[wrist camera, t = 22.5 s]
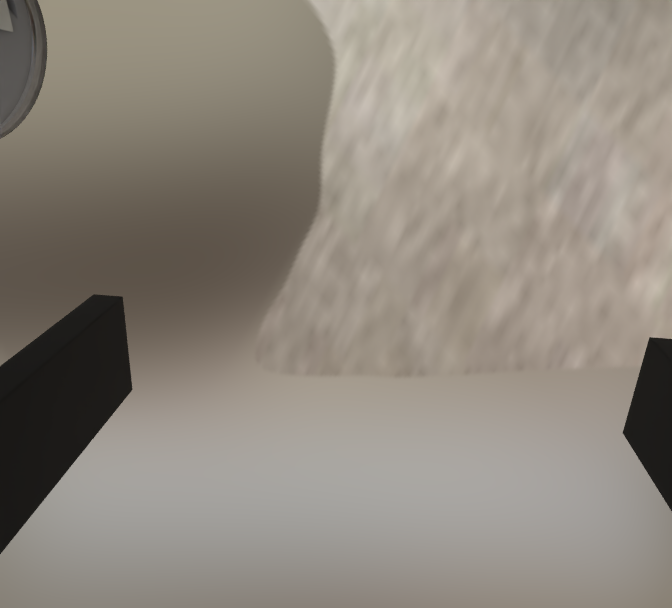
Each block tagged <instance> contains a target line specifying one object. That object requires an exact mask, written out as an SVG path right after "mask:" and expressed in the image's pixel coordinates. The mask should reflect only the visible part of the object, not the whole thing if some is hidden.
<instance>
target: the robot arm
mask: <svg viewBox="0 0 672 608" xmlns="http://www.w3.org/2000/svg"><path fill="white" fill-rule="evenodd" d="M46 40H47V38H46V30H45V25H44V21H43V16H42V13H41V9H40V7H39V4H38V1H37V0H0V139H1V138H2V137H4V136H6V135H7V134H9V133H10V132H12V131H13V130H14V129H15V128H16V127H17V126H18V125H19V124H20V123H21V122H22V121H23V120H24V119H25V118H26V116H27V115H28V113H29V112H30V110H31V109H32V107H33V105H34V104H35V101H36V99H37V97H38V95H39V92H40V89H41V87H42V83H43V79H44V75H45V69H46V60H47V41H46ZM131 390H132V382H131V373H130V363H129V354H128V345H127V334H126V325H125V315H124V306H123V297H119V296H105V295H93V296H91V297H90V298H89V299H87V300H86V301H85V302H84V303H82V304H81V305H80V306H78V307H77V308H76V309H74V310H73V311H72V312H70V313H69V314H68V315H66V316H65V317H64V318H63V319H62V320H60V321H59V322H57V323H56V324H55V325H53V326H52V327H51V328H49V329H48V330H47V331H46V332H44V333H43V334H42V335H40V336H39V337H38V338H37V339H35V340H34V341H33V342H31V343H30V344H29V345H27V346H26V347H25V348H23V349H22V350H21V351H20V352H18V353H17V354H16V355H14V356H13V357H12V358H10V359H9V360H8V361H6V362H5V363H4V364H3V365H1V366H0V554H1V552H2V551H3V550H4V549H5V548H6V546H7V545H8V544H9V542H10V541H11V540H12V539H13V537H14V536H15V535H16V534H17V533H18V531H19V530H20V529H21V528H22V526H23V525H24V524H25V523H26V521H27V520H28V519H29V518H30V516H31V515H32V514H33V513H34V511H35V510H36V509H37V508H38V506H39V505H40V504H41V503H42V501H43V500H44V499H45V498H46V496H47V495H48V494H49V493H50V491H51V490H52V489H53V488H54V487H55V485H56V484H57V483H58V482H59V480H60V479H61V478H62V477H63V475H64V474H65V473H66V471H67V470H68V469H69V467H71V465H72V464H73V463H74V462H75V460H76V459H77V458H78V457H79V455H80V454H81V453H82V451H83V450H84V449H85V448H86V447H87V445H88V444H89V443H90V442H91V440H92V439H93V438H94V437H95V435H96V434H97V433H98V432H99V430H100V429H101V428H102V427H103V425H104V424H105V423H106V422H107V421H108V419H109V418H110V417H111V416H112V414H113V413H114V412H115V411H116V409H117V408H118V407H119V406H120V404H121V403H122V402H123V400H124V399H125V398H126V397H127V396H128V394H129V393H130V392H131ZM623 434H624V435H625V437H626V439H627V440H628V442H629V444H630V445H631V447H632V448H633V450H634V452H635V453H636V455H637V456H638V458H639V460H640V461H641V462H642V464H643V466H644V468H645V469H646V471H647V472H648V474H649V476H650V477H651V479H652V480H653V482H654V483H655V485H656V487H657V488H658V490H659V492H660V493H661V495H662V496H663V498H664V500H665V501H666V503H667V504H668V506H669V508H670V509H671V511H672V339H664V338H651V337H649V341H648V345H647V348H646V352H645V355H644V359H643V362H642V366H641V370H640V373H639V377H638V380H637V384H636V387H635V391H634V395H633V398H632V402H631V406H630V409H629V412H628V416H627V420H626V423H625V427H624V430H623Z"/></svg>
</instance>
